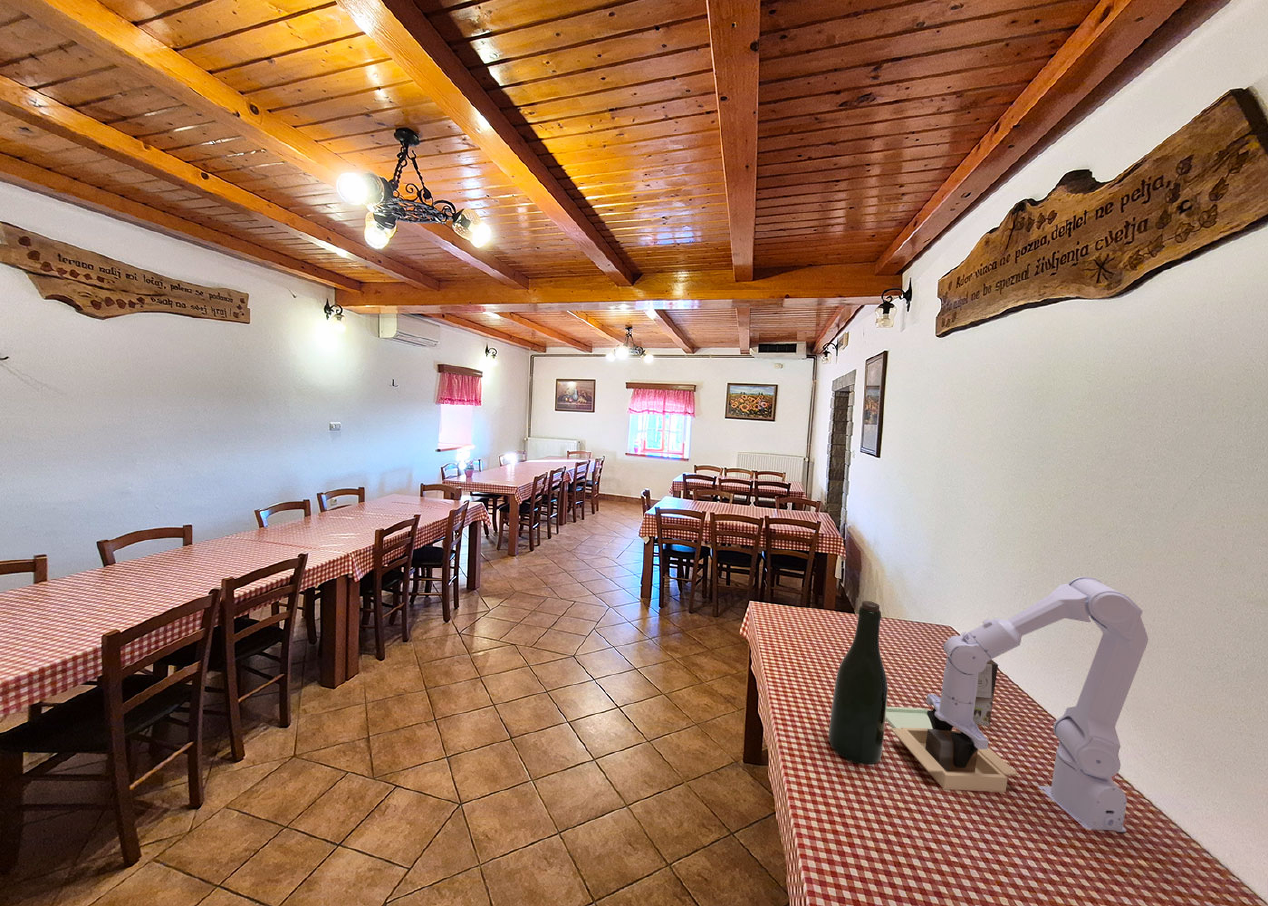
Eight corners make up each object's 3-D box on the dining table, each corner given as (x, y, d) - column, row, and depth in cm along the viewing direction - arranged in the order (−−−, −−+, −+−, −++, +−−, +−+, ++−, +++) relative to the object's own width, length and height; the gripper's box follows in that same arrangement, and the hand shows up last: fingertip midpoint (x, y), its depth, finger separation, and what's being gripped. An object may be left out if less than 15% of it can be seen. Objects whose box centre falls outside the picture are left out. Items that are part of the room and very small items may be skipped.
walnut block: (975, 772, 92) (978, 744, 92) (937, 770, 92) (941, 742, 91) (959, 757, 96) (963, 730, 96) (924, 755, 96) (927, 729, 96)
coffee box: (990, 729, 108) (999, 665, 107) (961, 723, 109) (969, 660, 108) (970, 706, 117) (978, 647, 116) (943, 701, 118) (951, 642, 117)
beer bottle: (851, 770, 91) (869, 614, 89) (817, 735, 101) (833, 594, 99) (892, 763, 94) (911, 612, 91) (855, 729, 104) (871, 592, 101)
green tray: (955, 742, 102) (956, 736, 102) (901, 740, 101) (901, 734, 101) (925, 713, 112) (926, 708, 112) (875, 711, 111) (876, 706, 111)
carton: (1019, 795, 88) (1022, 777, 88) (929, 791, 87) (931, 773, 87) (965, 745, 101) (967, 729, 101) (886, 741, 101) (888, 725, 100)
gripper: (916, 674, 100) (909, 731, 101) (967, 717, 86) (958, 783, 87) (946, 676, 100) (939, 733, 101) (1002, 719, 86) (992, 785, 87)
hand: (950, 756), depth 94 cm, fingers open, 5 cm apart
